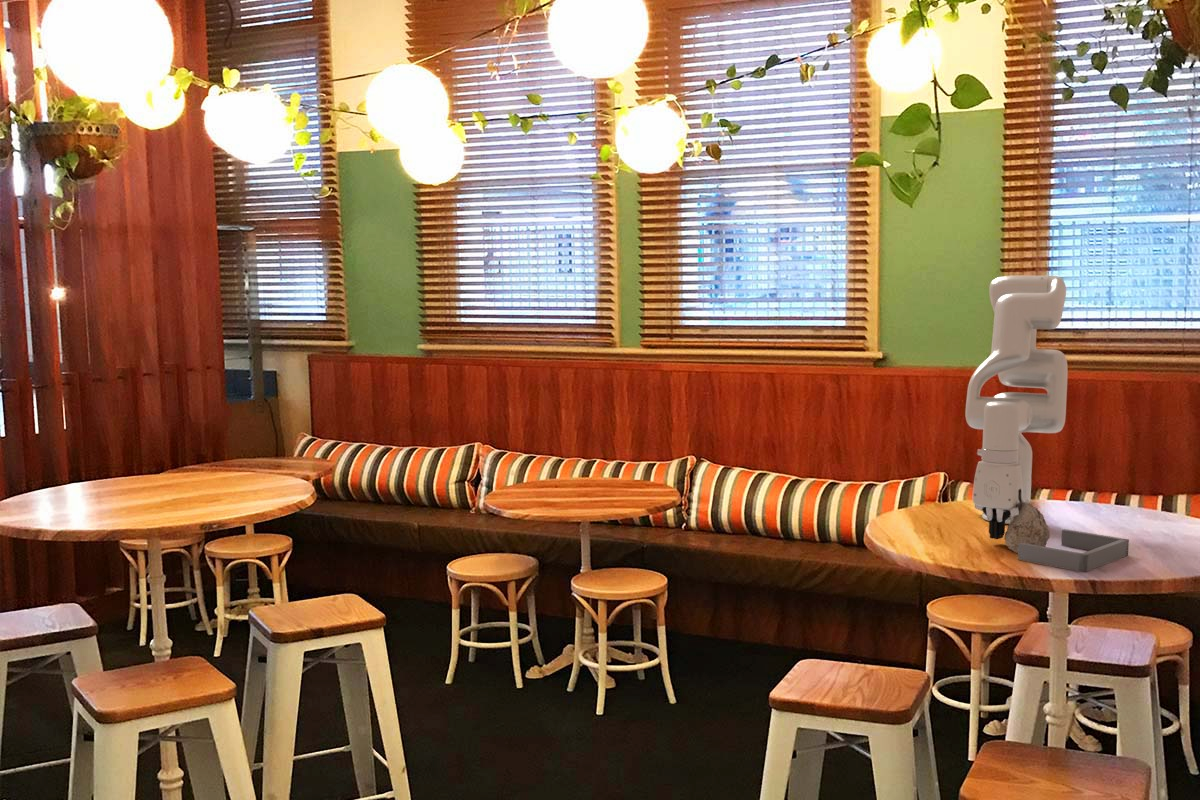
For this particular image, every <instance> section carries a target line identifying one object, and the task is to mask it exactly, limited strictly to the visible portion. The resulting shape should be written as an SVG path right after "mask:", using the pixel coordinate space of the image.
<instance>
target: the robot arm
mask: <svg viewBox="0 0 1200 800" xmlns="http://www.w3.org/2000/svg"><path fill="white" fill-rule="evenodd" d="M988 289H989V291H988V292H989V300H990V303H991V307H992V310H993V313H994V317H993V328H992V330H993V331H992V337H991V338H992V341H991V350H990V355H989V356H988V357H987V358H986V359H984V361H983V362H981V364H979V366H977V368H976V369H975V371H974V372H973V374H972V375H971V377H970V379H969V383H968V385H967V393H966V400H965V401H966V402H965V412H964V413H965V415H964V416H965V421H966V423H967V425H968V427H970V428H972V429H975V430H983V431H982V447H981V449H979V448H978V449H977V452H976V455H977V456H980V457H981V460H980V461H978V462H977V465H976V469H975V473H974V479H973V486H972V487H973V488H972V503H973V505H974V508H975V509H976V510H979V511H981V512H982V514H981V516H982V519H983V520H985V521H987V522H988V523H989V524H988V533H989V538H990V539H994V540H1000V539H1004V536H1005V532H1006V525H1009V523H1010V520H1011V518H1012V516H1013V515H1019V514H1020V511H1021V505H1022V502H1023V499H1026V500H1028V501H1029V502H1030V503H1031V496H1032V495H1031V493H1032V492H1031V491H1032V473H1033V472H1032V469H1033V450H1032V446H1031V444H1030V442H1029V441H1028V440H1027V439H1026V437H1024V435H1023V434H1022V433H1041V434H1057V433H1059V432H1061V431H1062V430H1063V428H1064V426H1065V423H1066V416H1067V398H1068V397H1067V395H1068V393H1067V392H1068V375H1069V374H1068V369H1069V368H1068V361H1067V357H1066V355H1065V354H1064V353H1063V352H1062V351H1060V350H1059V349H1052V348H1051V349H1050V348H1048V349H1047V348H1037V345H1036V344H1037V330H1055V329H1056V328H1058V327H1059V325H1060V323H1061V321H1062V317H1063V313H1064V307H1065V303H1066V298H1067V297H1066V296H1067V287H1066V283H1065V281H1064V279H1063V278H1062V277H1060V276H1057V275H1020V274H1019V275H1018V274H1017V275H1004V276H998V277H996V278H994V279H992V280H991V282H990V283H989V288H988ZM996 375H997V377H998V380H999V382H1000V383H1001V384H1002V385H1004V386H1007V387H1014V388H1032V389H1033V388H1034V389H1043V390H1045V391H1046V392H1047V393H1035V392H1034V393H1033V392H1031V393H1030V392H1018V391H1016V392H1014V391H1008V392H1001V393H997V394H996V395H994V396H981V395H980V394H981V390H982V388H983V386H984V385H985V383H986V382H987V381H988V380H990V379H991V378H993V377H994V376H996Z"/></svg>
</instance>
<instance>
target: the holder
mask: <svg viewBox="0 0 1200 800" xmlns="http://www.w3.org/2000/svg"><path fill="white" fill-rule="evenodd" d="M1129 541H1130V539H1128V538H1121V537H1116V536H1110V535H1109V536H1108V535H1104V534H1103V535H1102V534H1097V533H1092V532H1091V533H1090V532H1085V531H1079V530H1078V531H1077V530H1072V529H1066V528H1064V529H1061V544H1060V546H1065V547H1069V548H1075V549H1081V550H1086V551H1085V552H1082V553H1081V552H1078V551H1077V552H1076V551H1072V550H1071V551H1070V550H1065V549H1059V548H1054V547H1048V546H1046V547H1043V546H1037V545H1032V544H1026V543H1019V550H1018V553H1017V555H1018V557H1017V558H1018V559H1017V560H1019V561H1022V562H1028V563H1032V564H1039V565H1043V566H1044V565H1045V566H1048V567H1049V566H1050V567H1054V568H1055V567H1056V568H1059V569H1060V568H1061V569H1066V570H1071V571H1076V572H1082V573H1086V572H1088V571H1091V570H1094V569H1096V568H1099V567H1101V566H1105V565H1107V564H1110V563H1112V562H1115V561H1117V560H1120V559H1122V558H1125V557H1128V556H1129V549H1130V548H1129V546H1130V545H1129V544H1130V542H1129Z"/></svg>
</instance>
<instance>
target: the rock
mask: <svg viewBox="0 0 1200 800" xmlns="http://www.w3.org/2000/svg"><path fill="white" fill-rule="evenodd" d="M1050 537H1051V535H1050V530H1049V527H1048V525H1047V522H1046V519H1045V517H1044V515H1043V513H1041V511H1040V510H1039V509H1038V507H1036V506H1034V505H1033V504H1032V502H1031V501H1030V502H1029V501H1028V500H1026V499H1023V502H1022V505H1021V511H1020V514H1019V515H1013V516H1012V518H1011V520H1010V523H1009V524H1008V527H1006V530H1005V534H1004V536H1003V539H1004V543H1005V545H1006V546H1007V548H1008V549H1009V550H1011V551H1012V552H1014V553H1015V554H1018V550H1019V543H1026V544H1032V545H1037V546H1043V547H1047V542H1048V540H1049V539H1050Z"/></svg>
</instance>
